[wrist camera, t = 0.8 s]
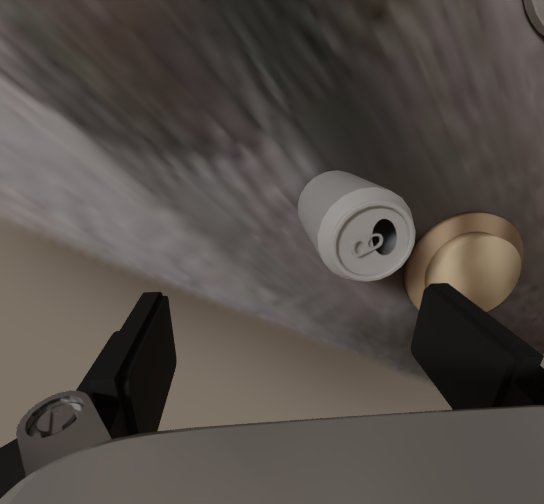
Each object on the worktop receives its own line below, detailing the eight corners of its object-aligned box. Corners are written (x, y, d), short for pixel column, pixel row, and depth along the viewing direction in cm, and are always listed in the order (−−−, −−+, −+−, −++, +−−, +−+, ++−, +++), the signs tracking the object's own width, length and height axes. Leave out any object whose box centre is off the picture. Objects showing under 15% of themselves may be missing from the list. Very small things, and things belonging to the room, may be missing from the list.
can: (369, 227, 34) (429, 275, 23) (304, 245, 34) (333, 301, 23) (359, 160, 31) (422, 178, 20) (288, 180, 31) (313, 209, 20)
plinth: (510, 191, 34) (534, 197, 31) (521, 291, 39) (542, 303, 36) (391, 241, 35) (403, 251, 32) (417, 332, 40) (430, 347, 37)
